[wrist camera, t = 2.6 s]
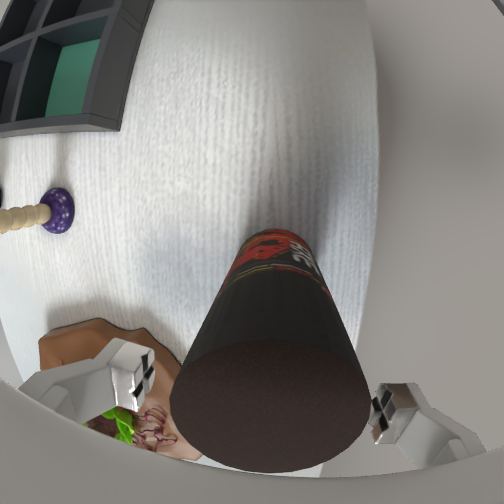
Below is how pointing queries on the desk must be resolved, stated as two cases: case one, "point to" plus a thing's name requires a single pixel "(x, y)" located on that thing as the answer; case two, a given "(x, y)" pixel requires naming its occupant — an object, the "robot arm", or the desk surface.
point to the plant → (118, 418)
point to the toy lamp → (41, 213)
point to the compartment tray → (67, 64)
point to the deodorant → (271, 366)
